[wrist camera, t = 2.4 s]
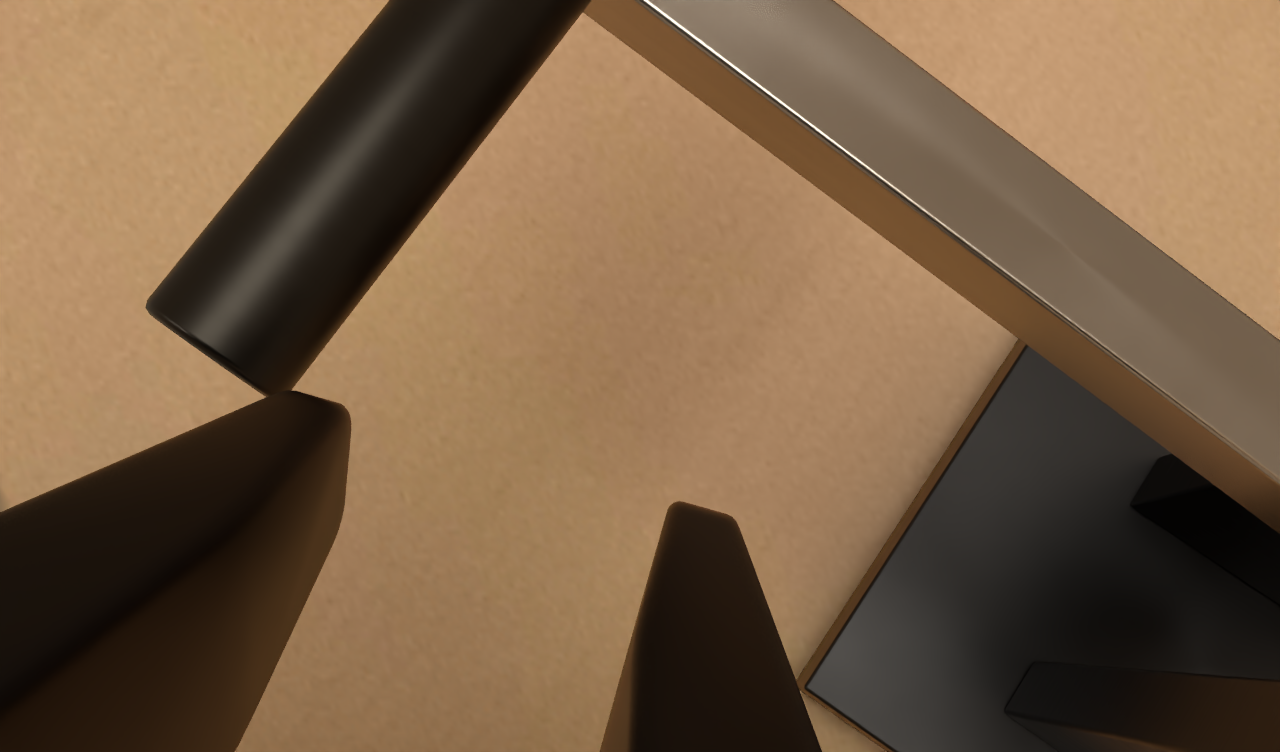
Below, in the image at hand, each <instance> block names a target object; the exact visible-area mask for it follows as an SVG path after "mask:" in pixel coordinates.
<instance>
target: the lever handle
mask: <svg viewBox="0 0 1280 752" xmlns="http://www.w3.org/2000/svg"><path fill="white" fill-rule="evenodd" d="M582 12H583V13H585V14H586V15H587V16H589V17H590V18H591V19H593V20H594V21H595V22H597V23H598V24H599V25H601V26H602V27H603V28H605V29H606V30H607V31H609V32H610V33H611V34H613V35H614V36H615V37H617V38H618V39H619V40H621V41H622V42H623V43H625V44H626V45H627V46H629V47H630V48H631V49H633V50H634V51H635V52H637V53H638V54H639V55H641V56H642V57H643V58H645V59H646V60H647V61H649V62H650V63H651V64H653V65H654V66H655V67H657V68H658V69H659V70H661V71H662V72H663V73H665V74H666V75H667V76H669V77H670V78H671V79H673V80H674V81H675V82H677V83H678V84H679V85H681V86H682V87H683V88H685V89H686V90H687V91H689V92H690V93H691V94H693V95H694V96H695V97H697V98H698V99H699V100H701V101H702V102H703V103H705V104H706V105H708V106H709V107H710V108H712V109H713V110H714V111H716V112H717V113H718V114H720V115H721V116H722V117H724V118H725V119H726V120H728V121H729V122H730V123H732V124H733V125H734V126H736V127H737V128H738V129H740V130H741V131H742V132H744V133H745V134H746V135H748V136H749V137H750V138H752V139H753V140H754V141H756V142H757V143H758V144H760V145H761V146H762V147H764V148H765V149H766V150H768V151H769V152H770V153H772V154H773V155H774V156H776V157H777V158H778V159H780V160H781V161H782V162H784V163H785V164H786V165H788V166H789V167H790V168H792V169H793V170H794V171H796V172H797V173H798V174H800V175H801V176H802V177H804V178H805V179H806V180H808V181H809V182H810V183H812V184H813V185H814V186H816V187H817V188H818V189H820V190H821V191H822V192H824V193H825V194H826V195H828V196H829V197H830V198H832V199H833V200H834V201H836V202H837V203H838V204H840V205H841V206H842V207H844V208H845V209H846V210H848V211H849V212H850V213H852V214H853V215H854V216H856V217H857V218H858V219H860V220H861V221H862V222H864V223H865V224H866V225H868V226H869V227H870V228H872V229H873V230H874V231H876V232H877V233H878V234H880V235H881V236H882V237H884V238H885V239H886V240H888V241H889V242H890V243H892V244H893V245H894V246H896V247H897V248H898V249H900V250H901V251H902V252H904V253H905V254H906V255H908V256H909V257H910V258H912V259H913V260H914V261H916V262H917V263H918V264H920V265H921V266H922V267H924V268H925V269H926V270H928V271H929V272H930V273H932V274H933V275H934V276H936V277H937V278H938V279H940V280H941V281H942V282H944V283H945V284H946V285H948V286H949V287H950V288H952V289H953V290H955V291H956V292H957V293H959V294H960V295H961V296H963V297H964V298H965V299H967V300H968V301H969V302H971V303H972V304H973V305H975V306H976V307H977V308H979V309H980V310H981V311H983V312H984V313H985V314H987V315H988V316H989V317H991V318H992V319H993V320H995V321H996V322H997V323H999V324H1000V325H1001V326H1003V327H1004V328H1005V329H1007V330H1008V331H1009V332H1011V333H1012V334H1013V335H1015V336H1016V337H1017V338H1019V339H1020V340H1021V341H1023V342H1024V343H1025V344H1027V345H1028V346H1029V347H1031V348H1032V349H1033V350H1035V351H1036V352H1037V353H1039V354H1040V355H1041V356H1043V357H1044V358H1045V359H1047V360H1048V361H1049V362H1051V363H1052V364H1053V365H1055V366H1056V367H1057V368H1059V369H1060V370H1061V371H1063V372H1064V373H1065V374H1067V375H1068V376H1069V377H1071V378H1072V379H1073V380H1075V381H1076V382H1077V383H1079V384H1080V385H1081V386H1083V387H1084V388H1085V389H1087V390H1088V391H1089V392H1091V393H1092V394H1093V395H1095V396H1096V397H1097V398H1099V399H1100V400H1101V401H1103V402H1104V403H1105V404H1107V405H1108V406H1109V407H1111V408H1112V409H1113V410H1115V411H1116V412H1117V413H1119V414H1120V415H1121V416H1123V417H1124V418H1125V419H1127V420H1128V421H1129V422H1131V423H1132V424H1133V425H1135V426H1136V427H1137V428H1139V429H1140V430H1141V431H1143V432H1144V433H1145V434H1147V435H1148V436H1149V437H1151V438H1152V439H1153V440H1155V441H1156V442H1157V443H1159V444H1160V445H1161V446H1163V447H1164V448H1165V449H1167V450H1168V451H1169V452H1171V453H1172V454H1173V455H1175V456H1176V457H1177V458H1179V459H1180V460H1181V461H1183V462H1184V463H1185V464H1187V465H1188V466H1189V467H1191V468H1192V469H1193V470H1195V471H1196V472H1198V473H1199V474H1200V475H1202V476H1203V477H1204V478H1206V479H1207V480H1208V481H1210V482H1211V483H1212V484H1214V485H1215V486H1216V487H1218V488H1219V489H1220V490H1222V491H1223V492H1224V493H1226V494H1227V495H1228V496H1230V497H1231V498H1232V499H1234V500H1235V501H1236V502H1238V503H1239V504H1240V505H1242V506H1243V507H1244V508H1246V509H1247V510H1248V511H1250V512H1251V513H1252V514H1254V515H1255V516H1256V517H1258V518H1259V519H1260V520H1262V521H1263V522H1264V523H1266V524H1267V525H1268V526H1270V527H1271V528H1272V529H1274V530H1275V531H1276V532H1278V533H1279V534H1280V340H1278V339H1277V338H1276V337H1274V336H1273V335H1272V334H1271V333H1269V332H1268V331H1267V330H1265V329H1264V328H1263V327H1261V326H1260V325H1259V324H1257V323H1256V322H1255V321H1253V320H1252V319H1251V318H1250V317H1248V316H1247V315H1246V314H1244V313H1243V312H1242V311H1240V310H1239V309H1238V308H1236V307H1235V306H1234V305H1232V304H1231V303H1230V302H1228V301H1227V300H1226V299H1225V298H1223V297H1222V296H1221V295H1219V294H1218V293H1217V292H1215V291H1214V290H1213V289H1211V288H1210V287H1209V286H1207V285H1206V284H1205V283H1204V282H1202V281H1201V280H1200V279H1198V278H1197V277H1196V276H1194V275H1193V274H1192V273H1190V272H1189V271H1188V270H1186V269H1185V268H1184V267H1183V266H1181V265H1180V264H1179V263H1177V262H1176V261H1175V260H1173V259H1172V258H1171V257H1169V256H1168V255H1167V254H1165V253H1164V252H1163V251H1162V250H1160V249H1159V248H1158V247H1156V246H1155V245H1154V244H1152V243H1151V242H1150V241H1148V240H1147V239H1146V238H1144V237H1143V236H1142V235H1141V234H1139V233H1138V232H1137V231H1135V230H1134V229H1133V228H1131V227H1130V226H1129V225H1127V224H1126V223H1125V222H1123V221H1122V220H1121V219H1120V218H1118V217H1117V216H1116V215H1114V214H1113V213H1112V212H1110V211H1109V210H1108V209H1106V208H1105V207H1104V206H1102V205H1101V204H1100V203H1099V202H1097V201H1096V200H1095V199H1093V198H1092V197H1091V196H1089V195H1088V194H1087V193H1085V192H1084V191H1083V190H1081V189H1080V188H1079V187H1078V186H1076V185H1075V184H1074V183H1072V182H1071V181H1070V180H1068V179H1067V178H1066V177H1064V176H1063V175H1062V174H1060V173H1059V172H1058V171H1057V170H1055V169H1054V168H1053V167H1051V166H1050V165H1049V164H1047V163H1046V162H1045V161H1043V160H1042V159H1041V158H1039V157H1038V156H1037V155H1036V154H1034V153H1033V152H1032V151H1030V150H1029V149H1028V148H1026V147H1025V146H1024V145H1022V144H1021V143H1020V142H1018V141H1017V140H1016V139H1015V138H1013V137H1012V136H1011V135H1009V134H1008V133H1007V132H1005V131H1004V130H1003V129H1001V128H1000V127H999V126H997V125H996V124H995V123H994V122H992V121H991V120H990V119H988V118H987V117H986V116H984V115H983V114H982V113H980V112H979V111H978V110H976V109H975V108H974V107H973V106H971V105H970V104H969V103H967V102H966V101H965V100H963V99H962V98H961V97H959V96H958V95H957V94H955V93H954V92H953V91H951V90H950V89H949V88H948V87H946V86H945V85H944V84H942V83H941V82H940V81H938V80H937V79H936V78H934V77H933V76H932V75H930V74H929V73H928V72H927V71H925V70H924V69H923V68H921V67H920V66H919V65H917V64H916V63H915V62H913V61H912V60H911V59H909V58H908V57H907V56H906V55H904V54H903V53H902V52H900V51H899V50H898V49H896V48H895V47H894V46H892V45H891V44H890V43H888V42H887V41H886V40H885V39H883V38H882V37H881V36H879V35H878V34H877V33H875V32H874V31H873V30H871V29H870V28H869V27H867V26H866V25H865V24H864V23H862V22H861V21H860V20H858V19H857V18H856V17H854V16H853V15H852V14H850V13H849V12H848V11H846V10H845V9H844V8H843V7H841V6H840V5H839V4H837V3H836V2H835V1H833V0H389V2H388V3H387V4H386V5H385V7H384V8H383V9H382V10H381V12H380V13H379V14H378V15H377V16H376V18H375V19H374V20H373V21H372V23H371V24H370V25H369V26H368V28H367V29H366V30H365V31H364V33H363V34H362V35H361V36H360V38H359V39H358V40H357V41H356V42H355V44H354V45H353V46H352V47H351V49H350V50H349V51H348V52H347V54H346V55H345V56H344V57H343V59H342V60H341V61H340V62H339V64H338V65H337V66H336V67H335V68H334V70H333V71H332V72H331V73H330V75H329V76H328V77H327V78H326V80H325V81H324V82H323V83H322V85H321V86H320V87H319V88H318V89H317V91H316V92H315V93H314V94H313V96H312V97H311V98H310V99H309V101H308V102H307V103H306V104H305V106H304V107H303V108H302V109H301V111H300V112H299V113H298V114H297V115H296V117H295V118H294V119H293V120H292V122H291V123H290V124H289V125H288V127H287V128H286V129H285V130H284V132H283V133H282V134H281V135H280V137H279V138H278V139H277V140H276V141H275V143H274V144H273V145H272V146H271V148H270V149H269V150H268V151H267V153H266V154H265V155H264V156H263V158H262V159H261V160H260V161H259V162H258V164H257V165H256V166H255V167H254V169H253V170H252V171H251V172H250V174H249V175H248V176H247V177H246V179H245V180H244V181H243V182H242V184H241V185H240V186H239V187H238V188H237V190H236V191H235V192H234V193H233V195H232V196H231V197H230V198H229V200H228V201H227V202H226V203H225V205H224V206H223V207H222V208H221V210H220V211H219V212H218V213H217V214H216V216H215V217H214V218H213V219H212V221H211V222H210V223H209V224H208V226H207V227H206V228H205V229H204V231H203V232H202V233H201V234H200V236H199V237H198V238H197V239H196V240H195V242H194V243H193V244H192V245H191V247H190V248H189V249H188V250H187V252H186V253H185V254H184V255H183V257H182V258H181V259H180V260H179V261H178V263H177V264H176V265H175V266H174V268H173V269H172V270H171V271H170V273H169V274H168V275H167V276H166V278H165V279H164V280H163V281H162V283H161V284H160V285H159V286H158V287H157V289H156V290H155V291H154V292H153V294H152V295H151V296H150V297H149V299H148V300H147V303H146V309H147V311H148V312H149V314H150V315H151V316H153V317H154V318H155V319H157V320H158V321H159V322H161V323H162V324H163V325H165V326H166V327H167V328H169V329H170V330H172V331H173V332H174V333H176V334H177V335H179V336H180V337H181V338H183V339H184V340H185V341H187V342H188V343H190V344H191V345H192V346H194V347H195V348H197V349H198V350H200V351H201V352H202V353H204V354H205V355H207V356H208V357H209V358H211V359H212V360H214V361H215V362H217V363H218V364H219V365H221V366H222V367H224V368H225V369H226V370H228V371H229V372H231V373H232V374H234V375H235V376H237V377H238V378H239V379H241V380H242V381H244V382H245V383H247V384H248V385H250V386H251V387H252V388H254V389H255V390H257V391H258V392H260V393H261V394H263V395H264V396H266V397H269V396H271V395H273V394H275V393H278V392H282V391H287V390H292V388H293V387H294V386H295V385H296V383H297V382H298V381H299V379H300V378H301V377H302V376H303V374H304V373H305V372H306V370H307V369H308V368H309V366H310V365H311V364H312V363H313V361H314V360H315V359H316V357H317V356H318V355H319V353H320V352H321V351H322V350H323V348H324V347H325V346H326V344H327V343H328V342H329V340H330V339H331V338H332V337H333V335H334V334H335V333H336V331H337V330H338V329H339V327H340V326H341V325H342V324H343V322H344V321H345V320H346V318H347V317H348V316H349V315H350V313H351V312H352V311H353V309H354V308H355V307H356V305H357V304H358V303H359V302H360V300H361V299H362V298H363V296H364V295H365V294H366V292H367V291H368V290H369V289H370V287H371V286H372V285H373V283H374V282H375V281H376V279H377V278H378V277H379V276H380V274H381V273H382V272H383V270H384V269H385V268H386V267H387V265H388V264H389V263H390V261H391V260H392V259H393V257H394V256H395V255H396V254H397V252H398V251H399V250H400V248H401V247H402V246H403V244H404V243H405V242H406V241H407V239H408V238H409V237H410V235H411V234H412V233H413V231H414V230H415V229H416V228H417V226H418V225H419V224H420V222H421V221H422V220H423V219H424V217H425V216H426V215H427V213H428V212H429V211H430V209H431V208H432V207H433V206H434V204H435V203H436V202H437V200H438V199H439V198H440V196H441V195H442V194H443V193H444V191H445V190H446V189H447V187H448V186H449V185H450V183H451V182H452V181H453V180H454V178H455V177H456V176H457V174H458V173H459V172H460V170H461V169H462V168H463V167H464V165H465V164H466V163H467V161H468V160H469V159H470V158H471V156H472V155H473V154H474V152H475V151H476V150H477V148H478V147H479V146H480V145H481V143H482V142H483V141H484V139H485V138H486V137H487V135H488V134H489V133H490V132H491V130H492V129H493V128H494V126H495V125H496V124H497V122H498V121H499V120H500V119H501V117H502V116H503V115H504V113H505V112H506V111H507V110H508V108H509V107H510V106H511V104H512V103H513V102H514V100H515V99H516V98H517V97H518V95H519V94H520V93H521V91H522V90H523V89H524V87H525V86H526V85H527V84H528V82H529V81H530V80H531V78H532V77H533V76H534V74H535V73H536V72H537V71H538V69H539V68H540V67H541V65H542V64H543V63H544V61H545V60H546V59H547V58H548V56H549V55H550V54H551V52H552V51H553V50H554V49H555V47H556V46H557V45H558V43H559V42H560V41H561V39H562V38H563V37H564V36H565V34H566V33H567V32H568V30H569V29H570V28H571V26H572V25H573V24H574V23H575V21H576V20H577V19H578V17H579V16H580V15H581V13H582Z"/></svg>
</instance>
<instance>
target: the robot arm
mask: <svg viewBox="0 0 1280 752" xmlns="http://www.w3.org/2000/svg"><path fill="white" fill-rule="evenodd" d="M350 438H351V418H350V414H349V412H348V410H347V409H346V408H345V407H344V406H343V405H342V404H340V403H336V402H333V401H329V400H326V399H322V398H319V397H315V396H312V395H308V394H305V393H301V392H298V391H291V390H287V391H282V392H278V393H275V394H273V395H271V396H269V397H266V398H264V399H262V400H259V401H257V402H255V403H252V404H250V405H248V406H245V407H243V408H241V409H238V410H236V411H234V412H231V413H229V414H227V415H225V416H222V417H220V418H218V419H215V420H213V421H211V422H208V423H206V424H204V425H201V426H199V427H197V428H194V429H192V430H190V431H187V432H185V433H183V434H181V435H178V436H176V437H174V438H171V439H169V440H167V441H164V442H162V443H160V444H157V445H155V446H153V447H150V448H148V449H146V450H143V451H141V452H139V453H137V454H134V455H132V456H130V457H127V458H125V459H123V460H120V461H118V462H116V463H113V464H111V465H109V466H106V467H104V468H102V469H99V470H97V471H95V472H93V473H90V474H88V475H86V476H83V477H81V478H79V479H76V480H74V481H72V482H69V483H67V484H65V485H62V486H60V487H58V488H56V489H53V490H51V491H49V492H46V493H44V494H42V495H39V496H37V497H35V498H32V499H30V500H28V501H25V502H23V503H21V504H18V505H16V506H14V507H12V508H9V509H7V510H5V511H2V512H0V752H235V750H236V748H237V747H238V745H239V743H240V741H241V739H242V737H243V735H244V733H245V731H246V729H247V727H248V725H249V723H250V721H251V719H252V716H253V714H254V712H255V710H256V708H257V706H258V704H259V702H260V700H261V698H262V695H263V693H264V691H265V689H266V687H267V685H268V682H269V680H270V678H271V676H272V674H273V672H274V670H275V667H276V665H277V663H278V661H279V659H280V657H281V655H282V652H283V650H284V648H285V646H286V644H287V642H288V640H289V637H290V635H291V633H292V631H293V629H294V627H295V625H296V622H297V620H298V618H299V616H300V614H301V612H302V610H303V607H304V605H305V603H306V601H307V599H308V597H309V595H310V592H311V590H312V588H313V586H314V584H315V582H316V580H317V577H318V575H319V573H320V571H321V569H322V567H323V564H324V562H325V560H326V558H327V556H328V554H329V552H330V549H331V547H332V545H333V543H334V541H335V538H336V535H337V533H338V530H339V527H340V523H341V520H342V516H343V511H344V505H345V494H346V483H347V472H348V461H349V450H350ZM600 752H822V750H821V748H820V745H819V742H818V740H817V737H816V734H815V731H814V729H813V726H812V723H811V721H810V718H809V715H808V713H807V710H806V707H805V704H804V702H803V699H802V696H801V694H800V691H799V688H798V685H797V683H796V680H795V677H794V675H793V672H792V669H791V666H790V664H789V661H788V658H787V656H786V653H785V650H784V647H783V645H782V642H781V639H780V637H779V634H778V631H777V629H776V626H775V623H774V620H773V618H772V615H771V612H770V610H769V607H768V604H767V601H766V599H765V596H764V593H763V591H762V588H761V585H760V582H759V580H758V577H757V574H756V572H755V569H754V566H753V564H752V561H751V558H750V555H749V553H748V550H747V547H746V545H745V542H744V539H743V536H742V534H741V531H740V528H739V526H738V524H737V522H736V521H735V520H734V518H733V517H731V516H729V515H727V514H724V513H721V512H717V511H714V510H710V509H707V508H703V507H700V506H696V505H693V504H689V503H686V502H681V501H678V502H674V503H673V504H672V505H670V506H669V508H668V510H667V514H666V517H665V521H664V524H663V528H662V531H661V535H660V538H659V542H658V545H657V549H656V552H655V556H654V559H653V563H652V566H651V570H650V574H649V577H648V581H647V584H646V588H645V591H644V595H643V598H642V602H641V605H640V609H639V612H638V616H637V619H636V623H635V627H634V630H633V634H632V637H631V641H630V645H629V648H628V652H627V655H626V659H625V662H624V666H623V670H622V673H621V677H620V680H619V684H618V687H617V691H616V695H615V698H614V702H613V705H612V709H611V713H610V716H609V720H608V723H607V727H606V730H605V734H604V738H603V741H602V745H601V748H600Z"/></svg>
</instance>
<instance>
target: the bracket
mask: <svg viewBox="0 0 1280 752" xmlns="http://www.w3.org/2000/svg"><path fill="white" fill-rule="evenodd" d="M796 683H797V685H798V688H799V690H801V691H802V692H804V693H805V694H807V695H808V696H809V697H811V698H812V699H814V700H815V701H816V702H818V703H819V704H821V705H822V706H824V707H825V708H826V709H828V710H829V711H831V712H832V713H833V714H835V715H836V716H838V717H839V718H841V719H842V720H843V721H845V722H846V723H848V724H849V725H850V726H852V727H853V728H855V729H856V730H858V731H859V732H860V733H862V734H863V735H865V736H866V737H867V738H869V739H870V740H872V741H873V742H875V743H876V744H877V745H879V746H880V747H882V748H883V749H885V750H886V751H887V752H1280V534H1279V533H1278V532H1276V531H1275V530H1274V529H1272V528H1271V527H1270V526H1268V525H1267V524H1266V523H1264V522H1263V521H1262V520H1260V519H1259V518H1258V517H1256V516H1255V515H1254V514H1252V513H1251V512H1250V511H1248V510H1247V509H1246V508H1244V507H1243V506H1242V505H1240V504H1239V503H1238V502H1236V501H1235V500H1234V499H1232V498H1231V497H1230V496H1228V495H1227V494H1226V493H1224V492H1223V491H1222V490H1220V489H1219V488H1218V487H1216V486H1215V485H1214V484H1212V483H1211V482H1210V481H1208V480H1207V479H1206V478H1204V477H1203V476H1202V475H1200V474H1199V473H1198V472H1196V471H1195V470H1193V469H1192V468H1191V467H1189V466H1188V465H1187V464H1185V463H1184V462H1183V461H1181V460H1180V459H1179V458H1177V457H1176V456H1175V455H1173V454H1172V453H1171V452H1169V451H1168V450H1167V449H1165V448H1164V447H1163V446H1161V445H1160V444H1159V443H1157V442H1156V441H1155V440H1153V439H1152V438H1151V437H1149V436H1148V435H1147V434H1145V433H1144V432H1143V431H1141V430H1140V429H1139V428H1137V427H1136V426H1135V425H1133V424H1132V423H1131V422H1129V421H1128V420H1127V419H1125V418H1124V417H1123V416H1121V415H1120V414H1119V413H1117V412H1116V411H1115V410H1113V409H1112V408H1111V407H1109V406H1108V405H1107V404H1105V403H1104V402H1103V401H1101V400H1100V399H1099V398H1097V397H1096V396H1095V395H1093V394H1092V393H1091V392H1089V391H1088V390H1087V389H1085V388H1084V387H1083V386H1081V385H1080V384H1079V383H1077V382H1076V381H1075V380H1073V379H1072V378H1071V377H1069V376H1068V375H1067V374H1065V373H1064V372H1063V371H1061V370H1060V369H1059V368H1057V367H1056V366H1055V365H1053V364H1052V363H1051V362H1049V361H1048V360H1047V359H1045V358H1044V357H1043V356H1041V355H1040V354H1039V353H1037V352H1036V351H1035V350H1033V349H1032V348H1031V347H1029V346H1028V345H1027V344H1025V343H1024V342H1023V341H1021V340H1020V339H1018V341H1017V342H1016V344H1015V345H1014V347H1013V348H1012V350H1011V352H1010V353H1009V355H1008V356H1007V358H1006V359H1005V361H1004V362H1003V364H1002V365H1001V367H1000V368H999V370H998V372H997V373H996V375H995V376H994V378H993V379H992V381H991V382H990V384H989V385H988V387H987V388H986V390H985V391H984V393H983V395H982V396H981V398H980V399H979V401H978V402H977V404H976V405H975V407H974V408H973V410H972V411H971V413H970V415H969V416H968V418H967V419H966V421H965V422H964V424H963V425H962V427H961V428H960V430H959V431H958V433H957V435H956V436H955V438H954V439H953V441H952V442H951V444H950V445H949V447H948V448H947V450H946V451H945V453H944V455H943V456H942V458H941V459H940V461H939V462H938V464H937V465H936V467H935V468H934V470H933V471H932V473H931V474H930V476H929V478H928V479H927V481H926V482H925V484H924V485H923V487H922V488H921V490H920V491H919V493H918V494H917V496H916V498H915V499H914V501H913V502H912V504H911V505H910V507H909V508H908V510H907V511H906V513H905V514H904V516H903V518H902V519H901V521H900V522H899V524H898V525H897V527H896V528H895V530H894V531H893V533H892V534H891V536H890V538H889V539H888V541H887V542H886V544H885V545H884V547H883V548H882V550H881V551H880V553H879V554H878V556H877V558H876V559H875V561H874V562H873V564H872V565H871V567H870V568H869V570H868V571H867V573H866V574H865V576H864V577H863V579H862V581H861V582H860V584H859V585H858V587H857V588H856V590H855V591H854V593H853V594H852V596H851V597H850V599H849V601H848V602H847V604H846V605H845V607H844V608H843V610H842V611H841V613H840V614H839V616H838V617H837V619H836V621H835V622H834V624H833V625H832V627H831V628H830V630H829V631H828V633H827V634H826V636H825V637H824V639H823V641H822V642H821V644H820V645H819V647H818V648H817V650H816V651H815V653H814V654H813V656H812V657H811V659H810V660H809V662H808V664H807V665H806V667H805V668H804V670H803V671H802V673H801V674H800V676H799V677H798V679H797V680H796Z"/></svg>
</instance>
